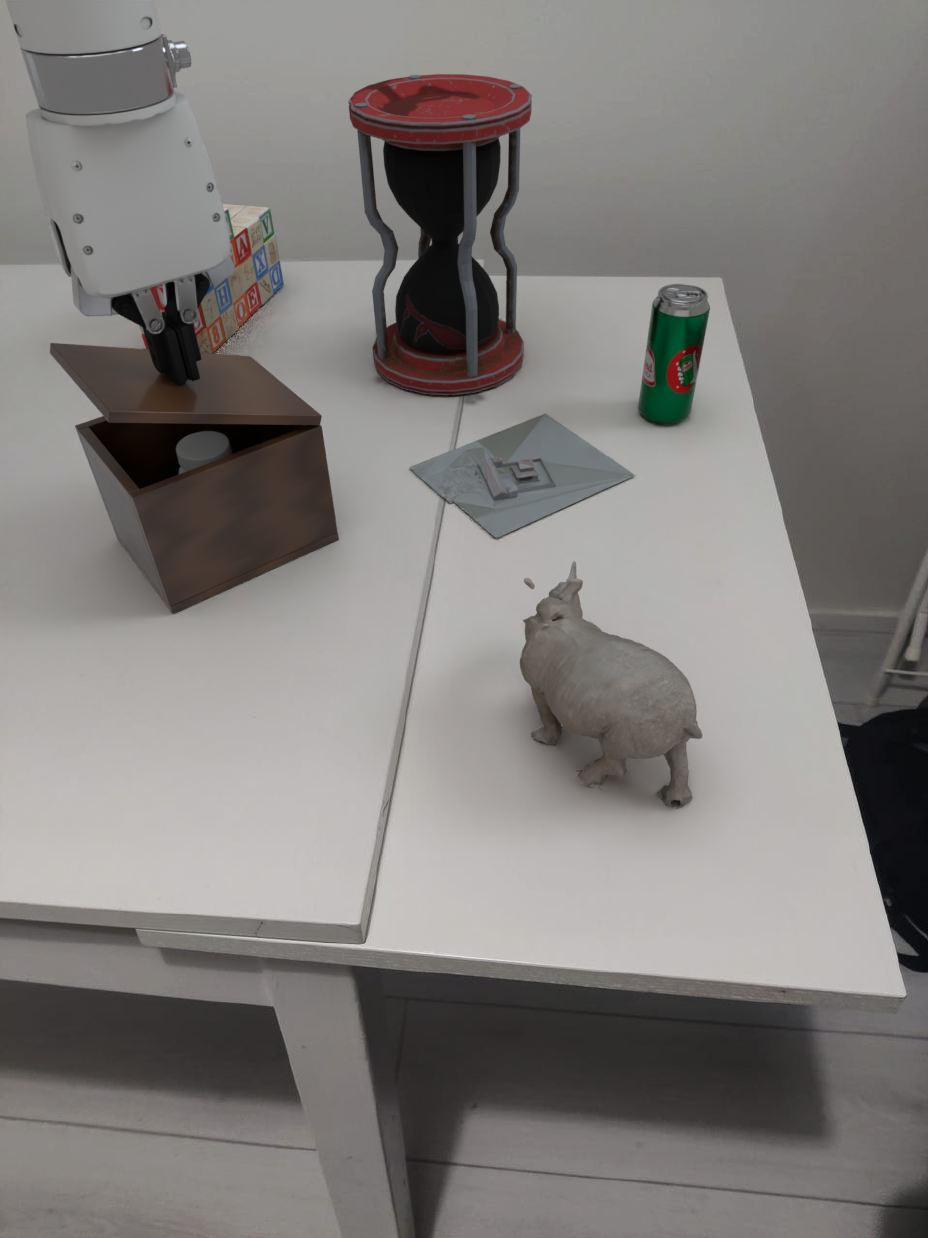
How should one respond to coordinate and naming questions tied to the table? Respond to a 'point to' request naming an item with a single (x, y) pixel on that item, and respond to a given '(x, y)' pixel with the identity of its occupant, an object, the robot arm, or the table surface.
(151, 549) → the chest
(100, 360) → the lid
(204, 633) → the table surface
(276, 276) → the stack of blocks
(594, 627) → the rhinoceros figurine
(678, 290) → the soda can
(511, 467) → the grey flat relief plate
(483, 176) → the hourglass
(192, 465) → the pill bottle
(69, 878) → the table surface
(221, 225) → the robot arm
